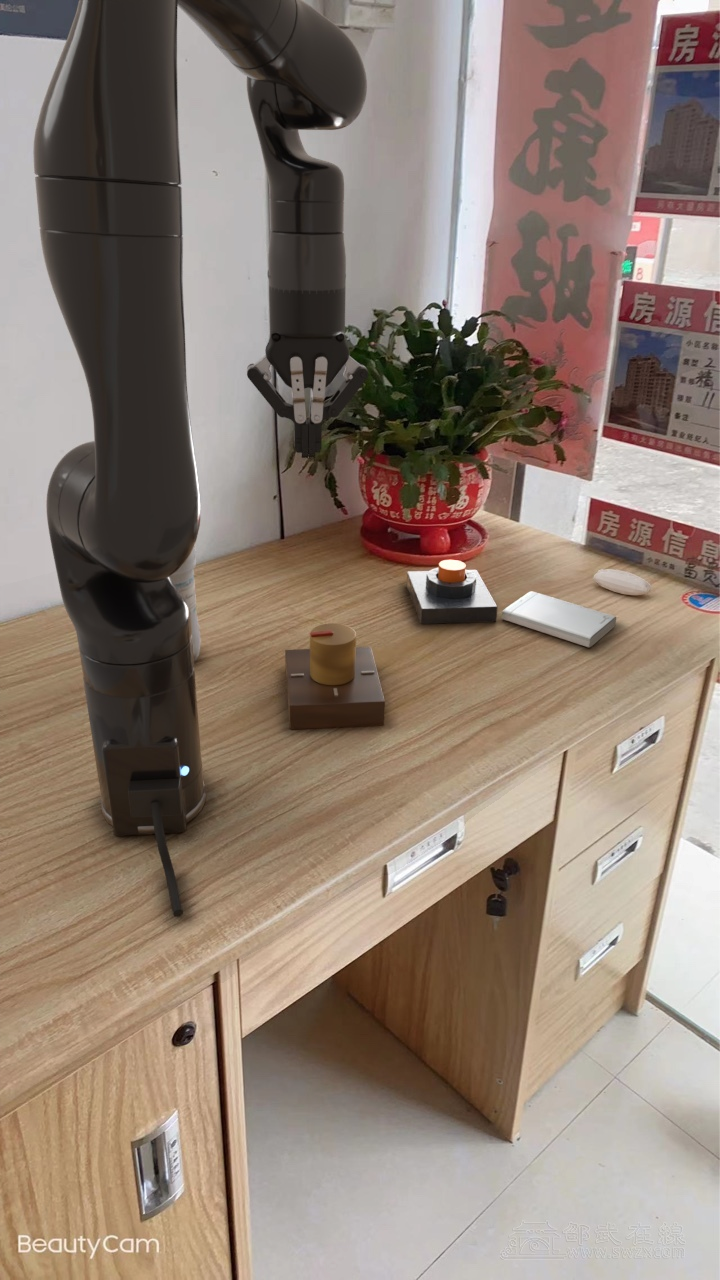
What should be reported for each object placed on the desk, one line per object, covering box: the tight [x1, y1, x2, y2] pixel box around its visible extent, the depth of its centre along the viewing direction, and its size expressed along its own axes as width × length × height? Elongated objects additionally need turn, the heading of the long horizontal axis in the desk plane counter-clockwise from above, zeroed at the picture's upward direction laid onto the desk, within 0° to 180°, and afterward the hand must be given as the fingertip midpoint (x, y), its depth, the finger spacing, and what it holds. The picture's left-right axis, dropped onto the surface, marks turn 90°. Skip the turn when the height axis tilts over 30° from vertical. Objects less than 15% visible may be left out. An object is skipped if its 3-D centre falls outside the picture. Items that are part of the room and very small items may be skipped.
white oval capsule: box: [593, 568, 652, 596], centre depth 124 cm, size 3×8×3 cm, turn 54°
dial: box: [309, 623, 357, 685], centre depth 96 cm, size 5×5×5 cm
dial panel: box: [284, 646, 386, 730], centre depth 98 cm, size 12×10×3 cm
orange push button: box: [438, 559, 467, 583], centre depth 118 cm, size 4×4×2 cm
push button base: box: [405, 566, 498, 625], centre depth 120 cm, size 12×10×4 cm
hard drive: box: [501, 590, 617, 648], centre depth 115 cm, size 2×8×12 cm
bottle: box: [170, 546, 202, 662], centre depth 101 cm, size 7×7×20 cm
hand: (308, 455), depth 94 cm, fingers closed
